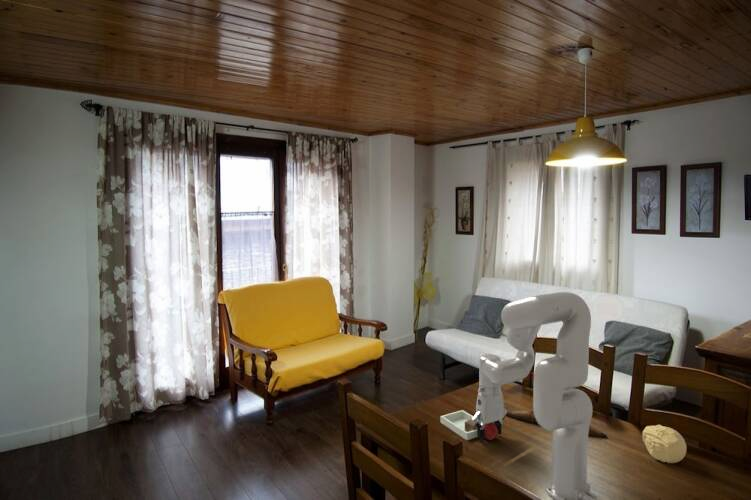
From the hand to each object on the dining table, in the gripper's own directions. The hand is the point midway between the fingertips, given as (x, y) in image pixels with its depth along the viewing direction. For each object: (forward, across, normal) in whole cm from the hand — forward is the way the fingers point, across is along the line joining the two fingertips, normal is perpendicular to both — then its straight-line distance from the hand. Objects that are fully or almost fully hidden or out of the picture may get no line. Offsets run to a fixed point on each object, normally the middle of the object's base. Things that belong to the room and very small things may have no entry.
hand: (489, 435), depth 166 cm
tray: (+2, -2, +11) cm, 11 cm away
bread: (+2, +29, -4) cm, 29 cm away
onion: (+2, 0, 0) cm, 2 cm away
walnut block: (+1, -2, +6) cm, 7 cm away
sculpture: (+2, +43, -38) cm, 57 cm away
